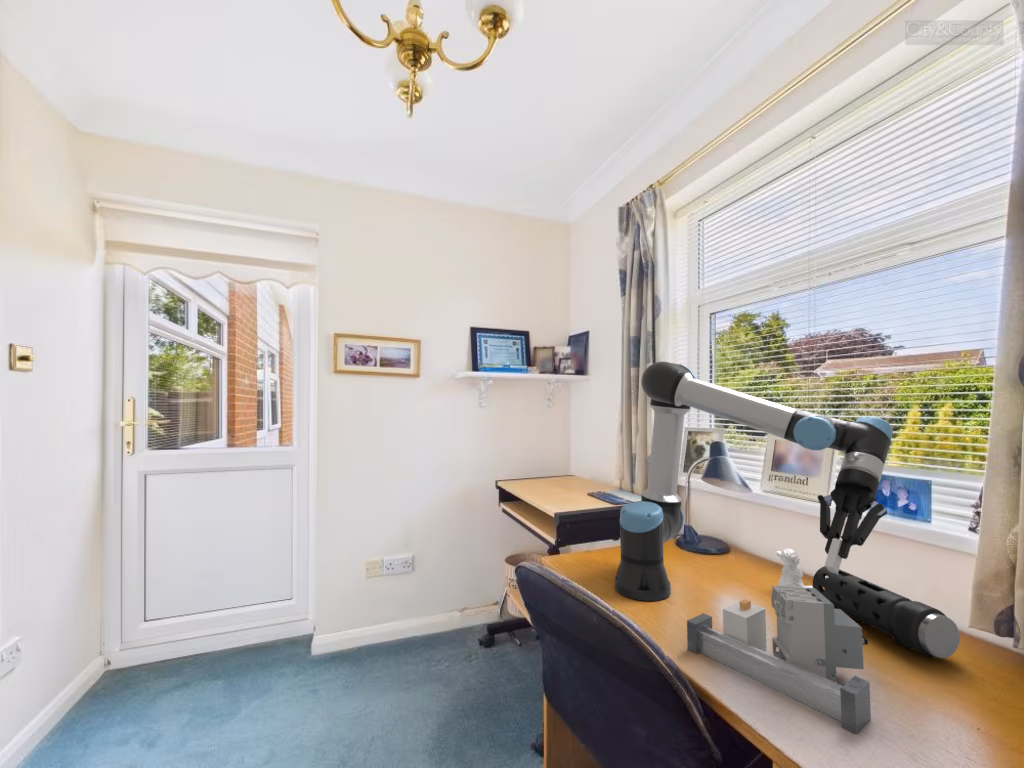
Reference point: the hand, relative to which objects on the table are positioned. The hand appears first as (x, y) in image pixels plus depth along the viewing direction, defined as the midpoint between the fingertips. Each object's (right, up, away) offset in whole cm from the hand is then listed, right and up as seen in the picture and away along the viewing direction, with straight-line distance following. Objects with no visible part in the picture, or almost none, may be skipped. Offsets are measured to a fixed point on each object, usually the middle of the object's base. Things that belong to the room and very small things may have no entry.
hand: (831, 569), depth 95 cm
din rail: (-19, -17, -10) cm, 27 cm away
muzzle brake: (+17, -18, +8) cm, 26 cm away
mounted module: (-18, -17, 0) cm, 25 cm away
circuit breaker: (-8, -17, -8) cm, 21 cm away
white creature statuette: (+11, -19, +30) cm, 37 cm away
